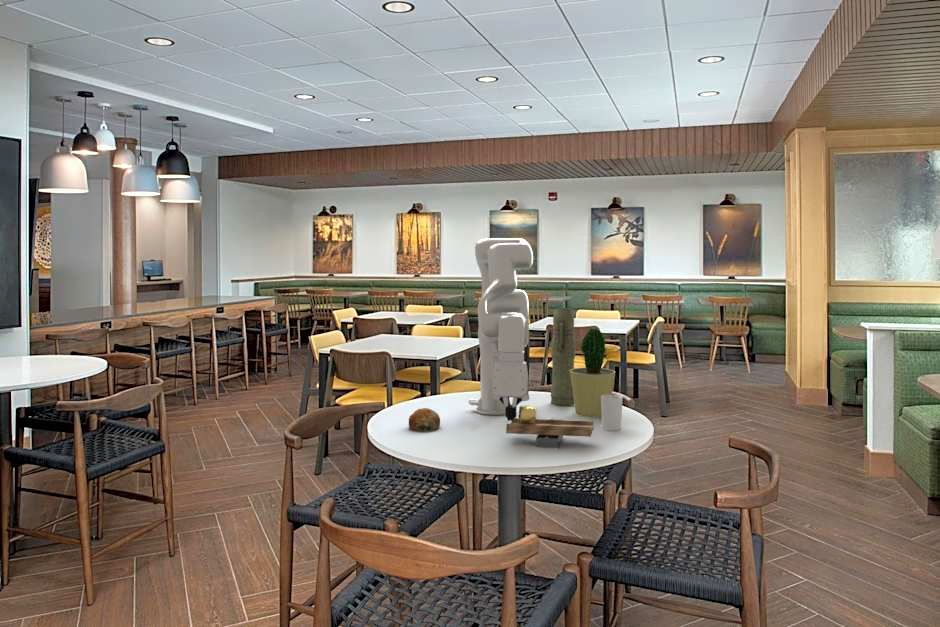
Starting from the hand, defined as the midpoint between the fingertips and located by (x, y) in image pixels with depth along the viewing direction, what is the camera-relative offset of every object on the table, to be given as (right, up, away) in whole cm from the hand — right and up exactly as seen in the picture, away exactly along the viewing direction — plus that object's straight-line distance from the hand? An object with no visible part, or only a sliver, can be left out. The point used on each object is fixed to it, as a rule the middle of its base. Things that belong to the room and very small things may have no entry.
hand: (510, 419), depth 208 cm
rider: (+4, -1, -1) cm, 5 cm away
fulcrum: (+11, -6, -2) cm, 13 cm away
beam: (+11, -2, -3) cm, 12 cm away
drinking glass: (+32, -5, +15) cm, 36 cm away
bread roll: (-26, -5, +16) cm, 31 cm away
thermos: (+22, -2, +54) cm, 58 cm away
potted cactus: (+30, -4, +36) cm, 47 cm away
